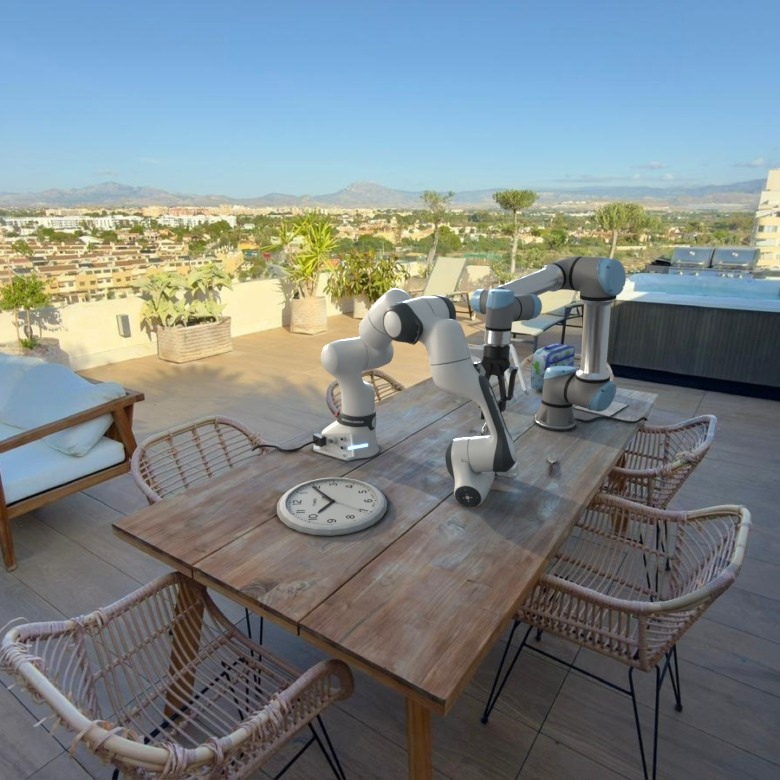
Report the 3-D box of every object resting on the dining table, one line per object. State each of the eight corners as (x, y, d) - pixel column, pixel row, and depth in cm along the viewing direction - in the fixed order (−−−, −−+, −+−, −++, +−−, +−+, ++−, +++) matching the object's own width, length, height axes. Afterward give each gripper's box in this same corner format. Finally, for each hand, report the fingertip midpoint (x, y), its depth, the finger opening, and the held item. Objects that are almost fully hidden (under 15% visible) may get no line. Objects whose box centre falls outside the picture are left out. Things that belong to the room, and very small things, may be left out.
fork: (545, 476, 161) (545, 470, 161) (548, 456, 176) (549, 450, 175) (553, 477, 160) (554, 471, 160) (556, 457, 175) (557, 452, 174)
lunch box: (547, 395, 239) (552, 351, 233) (526, 390, 247) (530, 347, 240) (574, 384, 257) (579, 343, 251) (554, 380, 264) (558, 339, 258)
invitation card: (608, 416, 214) (573, 407, 224) (608, 416, 214) (573, 408, 224) (628, 404, 229) (594, 396, 238) (628, 405, 229) (594, 397, 238)
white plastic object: (461, 429, 252) (437, 405, 227) (444, 352, 274) (420, 323, 250) (535, 404, 240) (518, 377, 215) (510, 326, 262) (492, 293, 237)
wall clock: (392, 527, 129) (268, 531, 127) (391, 533, 130) (269, 537, 127) (383, 473, 158) (282, 475, 155) (383, 478, 158) (282, 480, 156)
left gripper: (517, 468, 146) (523, 449, 158) (446, 456, 153) (457, 439, 165) (515, 488, 148) (521, 468, 160) (445, 476, 154) (456, 457, 167)
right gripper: (529, 344, 151) (522, 420, 158) (472, 338, 158) (467, 411, 165) (524, 349, 145) (516, 428, 152) (464, 343, 151) (460, 418, 158)
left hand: (488, 453), depth 163 cm, fingers closed on bottle, 5 cm apart
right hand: (491, 419), depth 158 cm, fingers closed on cap, 4 cm apart
